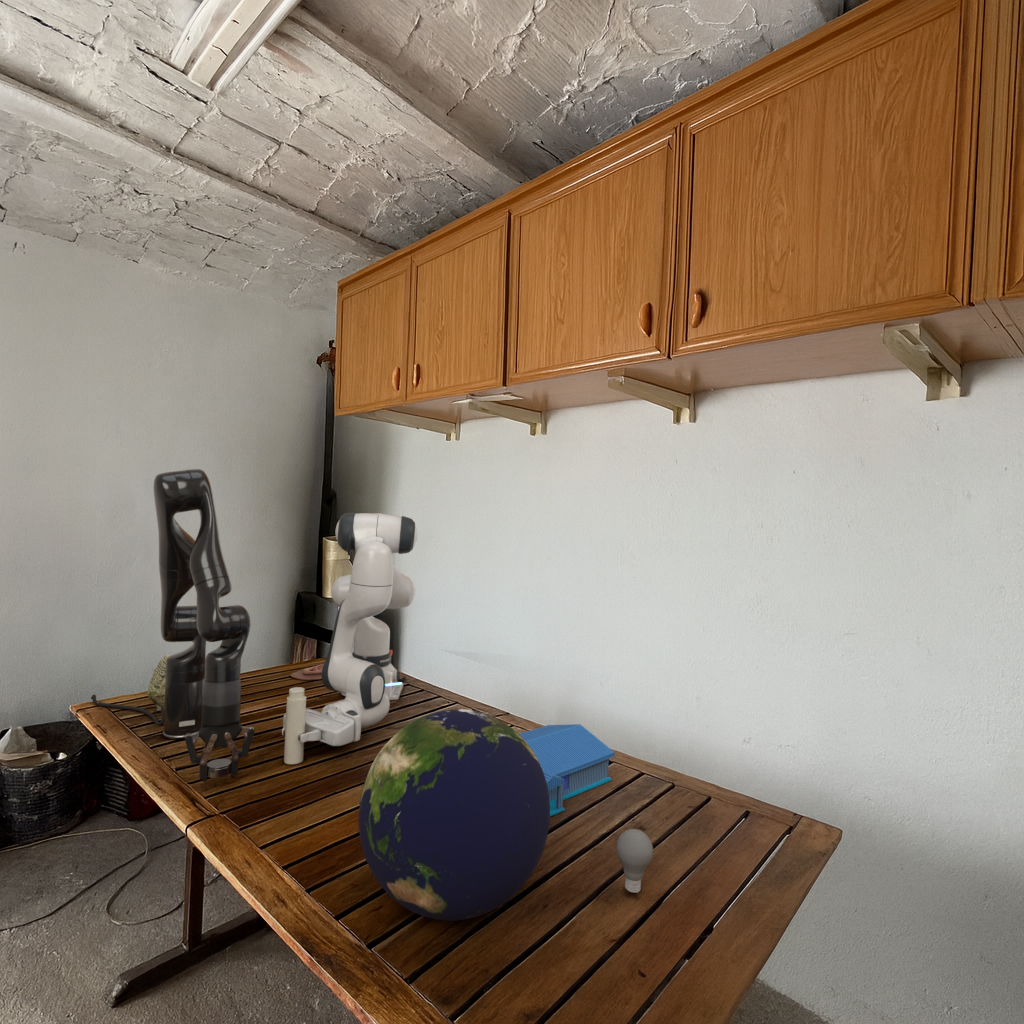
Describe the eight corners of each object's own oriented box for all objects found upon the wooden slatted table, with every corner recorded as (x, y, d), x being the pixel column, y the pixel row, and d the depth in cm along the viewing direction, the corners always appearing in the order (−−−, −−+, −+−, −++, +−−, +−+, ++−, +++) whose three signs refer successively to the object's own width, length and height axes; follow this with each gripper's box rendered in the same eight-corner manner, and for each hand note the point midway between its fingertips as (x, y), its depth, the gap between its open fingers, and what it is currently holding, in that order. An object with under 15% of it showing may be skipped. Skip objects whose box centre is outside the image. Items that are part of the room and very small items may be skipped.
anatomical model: (285, 666, 217) (303, 658, 228) (285, 677, 217) (303, 669, 228) (321, 670, 214) (337, 661, 225) (321, 681, 214) (337, 673, 225)
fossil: (144, 707, 182) (145, 655, 182) (212, 696, 194) (213, 647, 194) (151, 716, 175) (153, 662, 175) (221, 703, 188) (223, 653, 188)
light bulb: (610, 879, 108) (613, 822, 108) (644, 879, 109) (647, 822, 109) (619, 902, 102) (622, 840, 102) (655, 901, 103) (658, 840, 103)
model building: (493, 841, 119) (496, 788, 119) (420, 792, 137) (422, 747, 137) (623, 784, 145) (625, 741, 145) (547, 750, 164) (548, 712, 163)
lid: (230, 777, 134) (230, 766, 134) (204, 779, 133) (204, 768, 133) (232, 767, 139) (233, 757, 139) (207, 769, 138) (208, 759, 137)
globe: (312, 931, 92) (320, 727, 92) (418, 834, 120) (424, 677, 120) (501, 1001, 81) (511, 769, 81) (569, 876, 109) (577, 703, 108)
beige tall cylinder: (279, 761, 150) (283, 689, 150) (294, 755, 154) (297, 685, 154) (293, 765, 148) (296, 693, 148) (307, 759, 152) (310, 688, 152)
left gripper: (183, 708, 129) (181, 791, 129) (259, 701, 136) (256, 780, 136) (184, 697, 136) (181, 776, 136) (255, 691, 142) (253, 766, 143)
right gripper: (310, 699, 167) (264, 713, 156) (365, 716, 156) (320, 732, 145) (309, 723, 168) (263, 738, 156) (364, 742, 156) (319, 759, 145)
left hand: (218, 778), depth 136 cm, fingers closed on lid, 4 cm apart
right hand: (291, 735), depth 150 cm, fingers closed on beige tall cylinder, 4 cm apart
